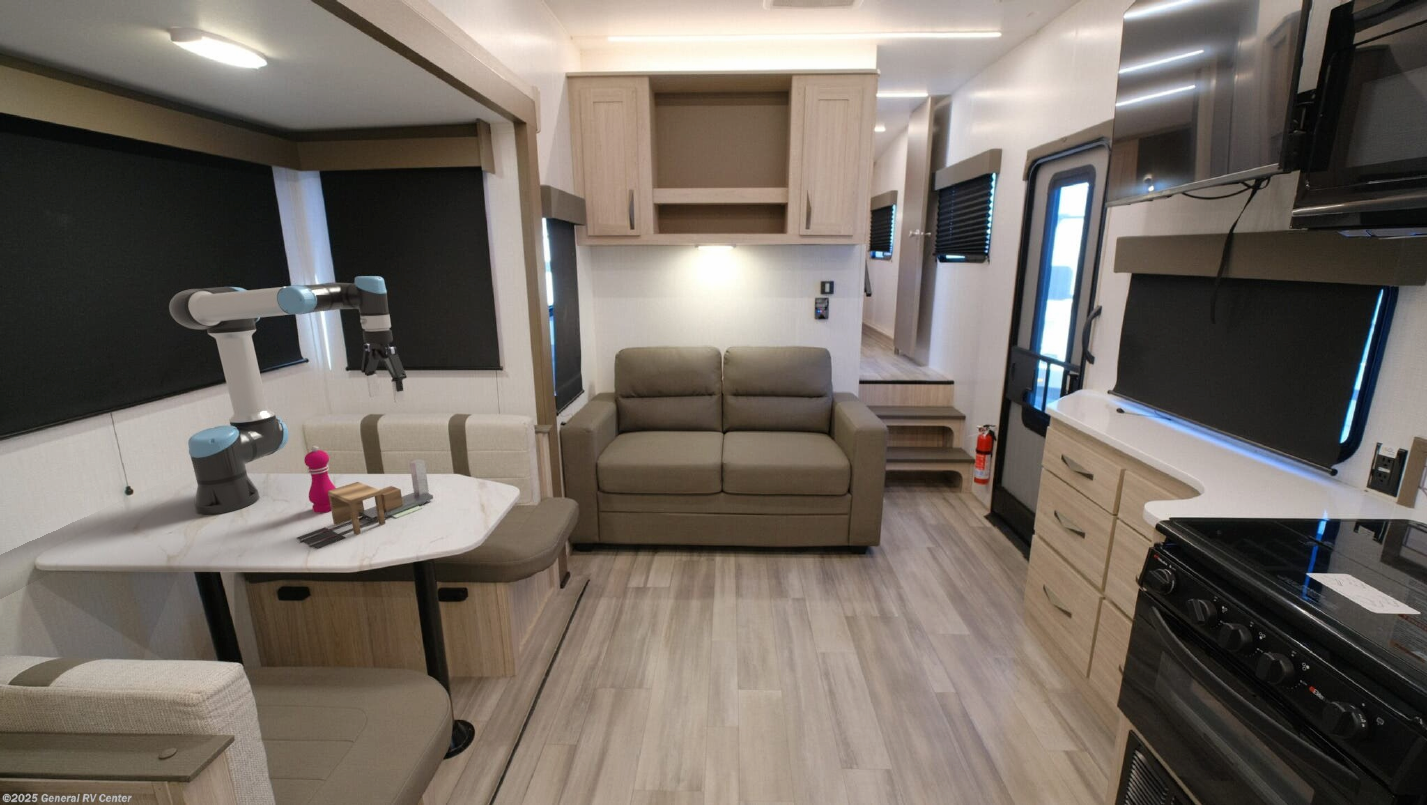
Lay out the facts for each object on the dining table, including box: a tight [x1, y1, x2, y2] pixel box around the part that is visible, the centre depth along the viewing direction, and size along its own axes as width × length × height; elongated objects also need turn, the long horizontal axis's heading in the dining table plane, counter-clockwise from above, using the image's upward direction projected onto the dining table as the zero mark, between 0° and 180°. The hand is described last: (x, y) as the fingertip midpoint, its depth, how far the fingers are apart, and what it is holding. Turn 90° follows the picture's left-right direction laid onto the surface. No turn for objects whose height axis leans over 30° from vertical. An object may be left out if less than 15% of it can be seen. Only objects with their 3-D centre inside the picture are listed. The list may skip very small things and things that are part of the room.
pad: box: [391, 505, 423, 519], centre depth 172 cm, size 11×8×1 cm
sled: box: [359, 458, 434, 522], centre depth 170 cm, size 7×18×12 cm, turn 149°
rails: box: [298, 502, 426, 548], centre depth 164 cm, size 6×32×1 cm, turn 149°
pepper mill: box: [303, 445, 336, 514], centre depth 169 cm, size 7×7×20 cm
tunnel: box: [328, 481, 386, 536], centre depth 161 cm, size 12×8×10 cm, turn 59°
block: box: [379, 485, 403, 511], centre depth 168 cm, size 5×5×5 cm
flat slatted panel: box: [296, 526, 347, 550], centre depth 154 cm, size 11×7×1 cm, turn 59°
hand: (387, 398), depth 174 cm, fingers open, 13 cm apart
